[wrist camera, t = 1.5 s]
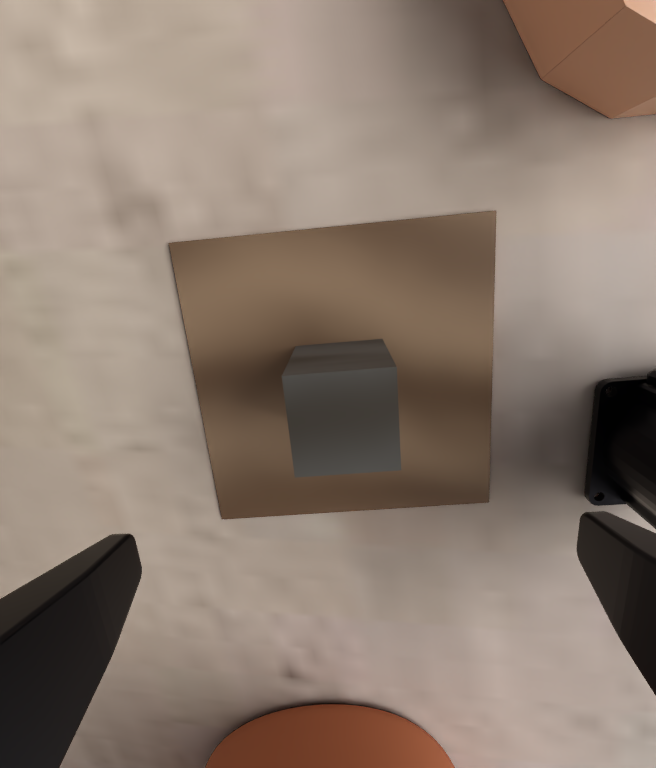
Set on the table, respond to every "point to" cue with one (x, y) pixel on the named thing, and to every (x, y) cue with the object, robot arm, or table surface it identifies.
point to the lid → (344, 363)
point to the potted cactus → (329, 741)
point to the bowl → (593, 50)
